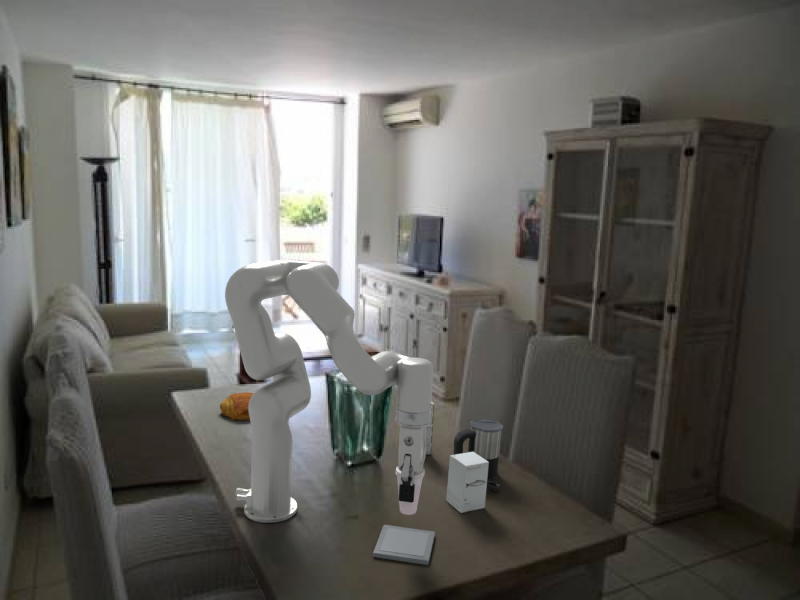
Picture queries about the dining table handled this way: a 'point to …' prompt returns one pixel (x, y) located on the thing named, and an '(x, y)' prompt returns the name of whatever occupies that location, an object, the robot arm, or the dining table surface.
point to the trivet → (404, 544)
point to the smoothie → (410, 507)
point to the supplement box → (467, 481)
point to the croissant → (237, 406)
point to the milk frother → (482, 445)
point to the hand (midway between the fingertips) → (408, 493)
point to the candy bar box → (429, 432)
